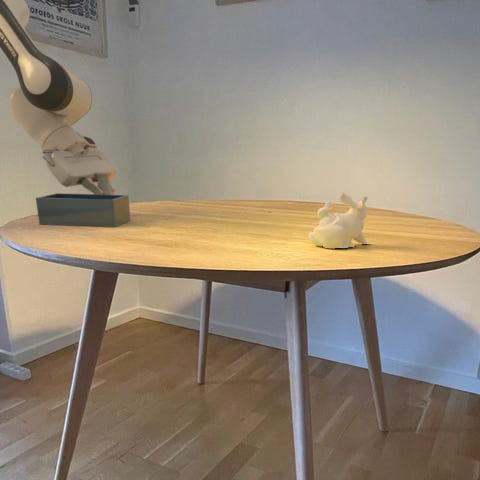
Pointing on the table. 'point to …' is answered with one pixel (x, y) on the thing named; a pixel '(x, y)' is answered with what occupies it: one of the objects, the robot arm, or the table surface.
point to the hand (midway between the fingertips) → (107, 194)
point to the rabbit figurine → (340, 225)
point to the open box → (83, 209)
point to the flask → (104, 182)
